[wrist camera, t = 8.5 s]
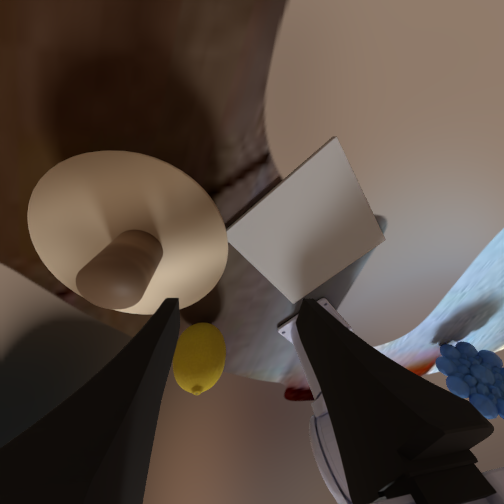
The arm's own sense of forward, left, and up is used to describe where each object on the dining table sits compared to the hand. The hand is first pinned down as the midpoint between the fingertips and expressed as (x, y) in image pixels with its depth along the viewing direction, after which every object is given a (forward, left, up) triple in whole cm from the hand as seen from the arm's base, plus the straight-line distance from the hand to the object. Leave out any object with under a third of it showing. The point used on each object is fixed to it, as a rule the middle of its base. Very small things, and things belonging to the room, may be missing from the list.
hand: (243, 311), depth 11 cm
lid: (+6, +4, -5) cm, 9 cm away
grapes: (-45, -14, -10) cm, 48 cm away
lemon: (-6, +11, -10) cm, 16 cm away
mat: (-5, -6, -10) cm, 13 cm away
